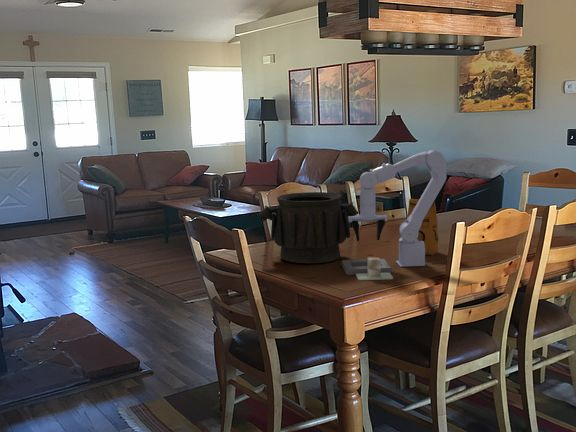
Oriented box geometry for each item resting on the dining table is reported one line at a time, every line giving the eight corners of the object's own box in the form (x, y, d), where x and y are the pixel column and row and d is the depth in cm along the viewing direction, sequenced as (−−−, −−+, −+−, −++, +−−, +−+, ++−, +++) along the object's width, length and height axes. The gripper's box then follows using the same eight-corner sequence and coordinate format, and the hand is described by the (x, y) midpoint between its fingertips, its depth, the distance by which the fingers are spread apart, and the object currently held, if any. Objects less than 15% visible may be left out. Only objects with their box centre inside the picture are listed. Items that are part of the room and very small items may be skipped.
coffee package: (432, 257, 251) (433, 201, 247) (403, 253, 258) (403, 199, 254) (441, 252, 259) (442, 198, 255) (413, 248, 266) (413, 196, 262)
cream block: (378, 273, 226) (378, 257, 225) (380, 276, 222) (380, 259, 221) (367, 274, 226) (367, 257, 225) (369, 276, 222) (369, 260, 221)
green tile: (389, 274, 227) (389, 272, 227) (393, 279, 220) (393, 277, 220) (355, 275, 227) (355, 273, 227) (358, 280, 220) (358, 278, 220)
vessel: (255, 258, 256) (252, 197, 252) (313, 246, 276) (312, 188, 272) (305, 272, 233) (303, 204, 229) (365, 257, 253) (365, 195, 249)
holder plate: (383, 263, 242) (383, 258, 242) (391, 273, 228) (391, 267, 228) (341, 265, 241) (341, 260, 241) (346, 274, 228) (346, 269, 227)
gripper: (349, 206, 234) (350, 242, 236) (389, 205, 234) (389, 241, 237) (347, 203, 241) (347, 239, 243) (385, 202, 241) (385, 237, 244)
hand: (367, 240), depth 240 cm, fingers open, 7 cm apart
